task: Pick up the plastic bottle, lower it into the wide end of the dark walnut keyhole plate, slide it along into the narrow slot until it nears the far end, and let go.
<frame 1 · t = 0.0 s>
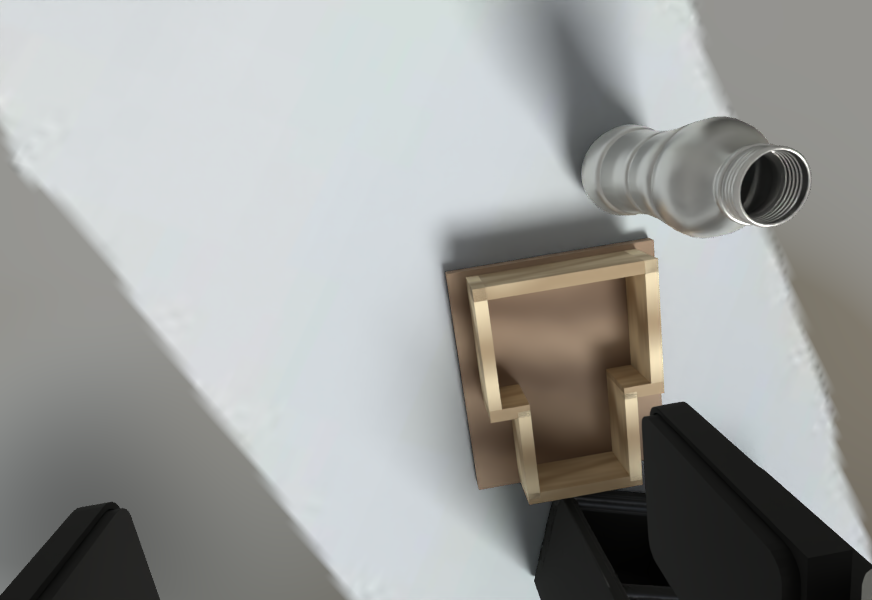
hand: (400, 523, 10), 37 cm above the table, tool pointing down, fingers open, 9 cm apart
keyhole plate: (558, 366, 50), on the table
black drawer cabinet: (657, 540, 56), on the table
plastic bottle: (612, 168, 46), on the table
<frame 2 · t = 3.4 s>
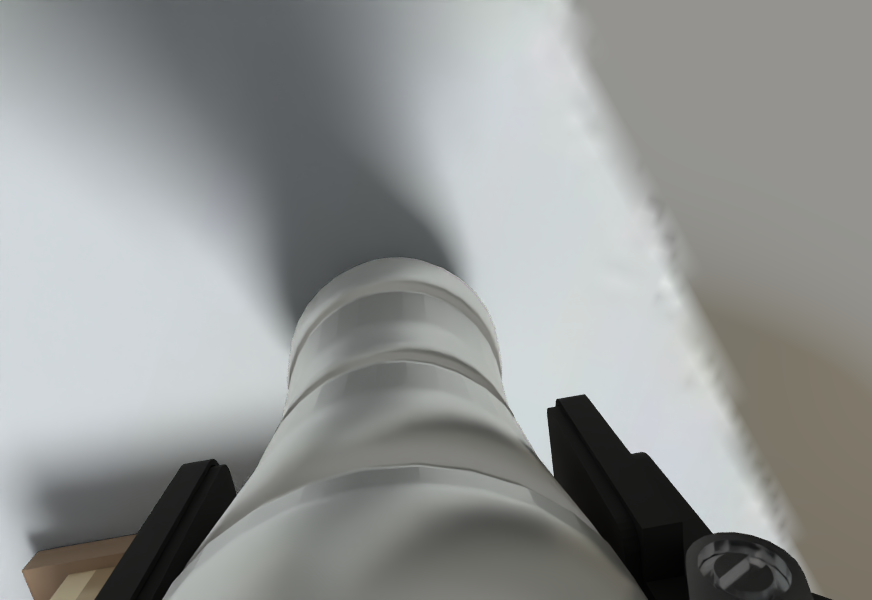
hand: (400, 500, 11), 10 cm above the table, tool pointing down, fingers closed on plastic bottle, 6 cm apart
plastic bottle: (395, 334, 20), on the table, touching gripper
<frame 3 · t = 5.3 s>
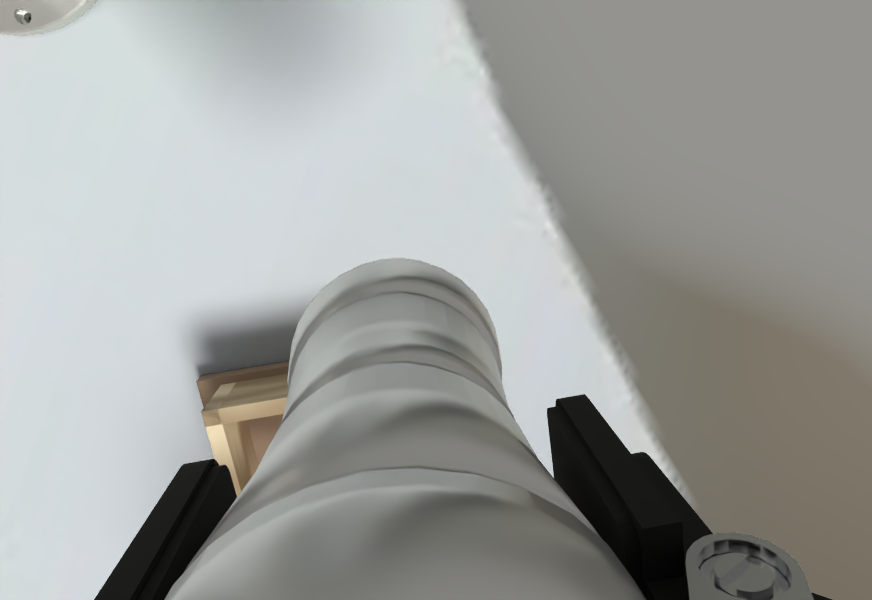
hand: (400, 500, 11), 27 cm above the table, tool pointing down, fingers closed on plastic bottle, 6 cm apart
keyhole plate: (355, 483, 41), on the table
plastic bottle: (395, 335, 20), point 17 cm above the table, touching gripper
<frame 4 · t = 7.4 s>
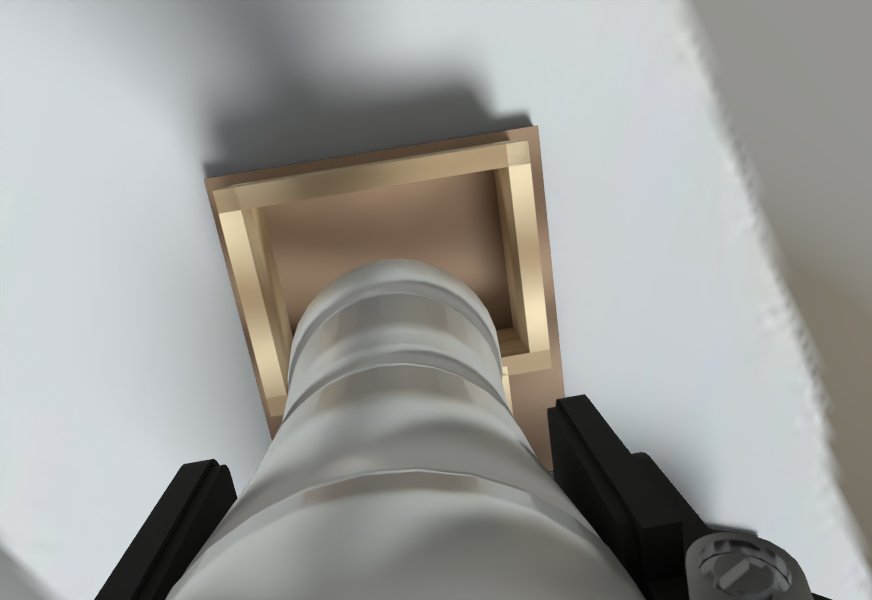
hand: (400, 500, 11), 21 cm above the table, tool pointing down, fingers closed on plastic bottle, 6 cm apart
keyhole plate: (404, 331, 33), on the table
plastic bottle: (395, 335, 20), point 12 cm above the table, touching gripper
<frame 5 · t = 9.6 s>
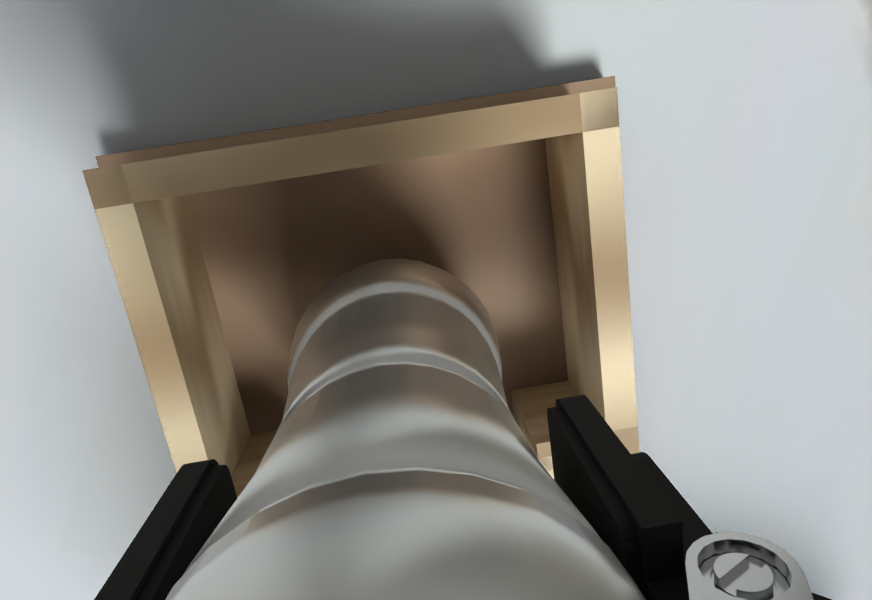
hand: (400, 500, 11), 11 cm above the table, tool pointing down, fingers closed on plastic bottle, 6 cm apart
keyhole plate: (407, 384, 22), on the table
plastic bottle: (395, 335, 20), point 1 cm above the table, touching gripper
when the fingers open (11 cm above the table, at t = 11.4 s): plastic bottle stays where it is, resting on keyhole plate.
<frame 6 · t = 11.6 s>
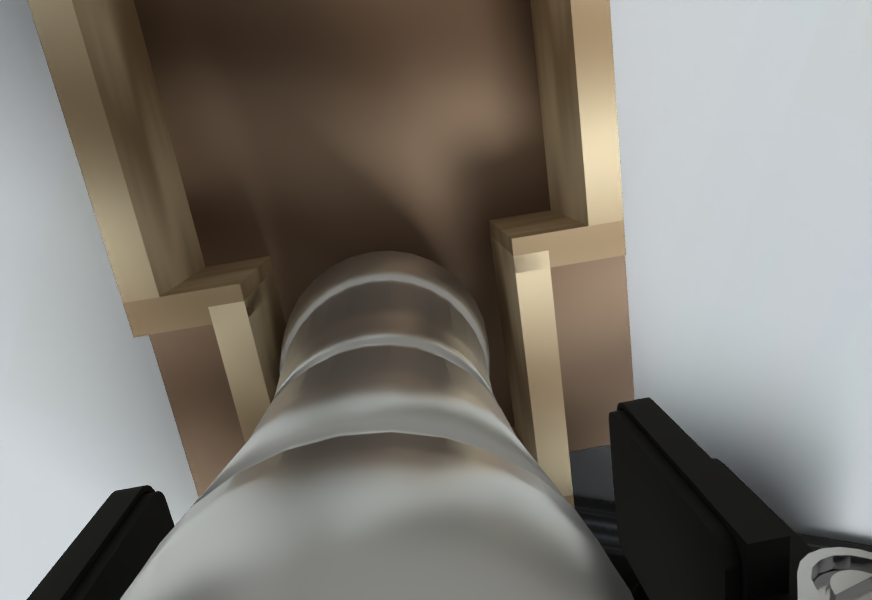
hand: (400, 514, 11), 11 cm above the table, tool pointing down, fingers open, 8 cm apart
keyhole plate: (377, 220, 21), on the table
plastic bottle: (387, 327, 21), point 1 cm above the table, touching keyhole plate
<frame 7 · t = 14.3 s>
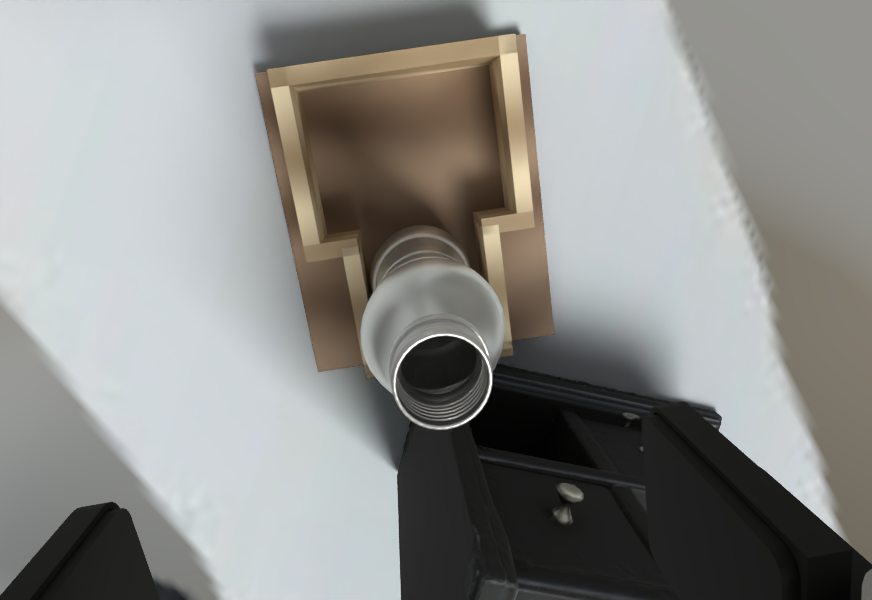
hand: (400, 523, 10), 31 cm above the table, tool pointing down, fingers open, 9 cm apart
keyhole plate: (415, 211, 39), on the table
black drawer cabinet: (556, 440, 45), on the table
plastic bottle: (419, 268, 39), point 1 cm above the table, touching keyhole plate
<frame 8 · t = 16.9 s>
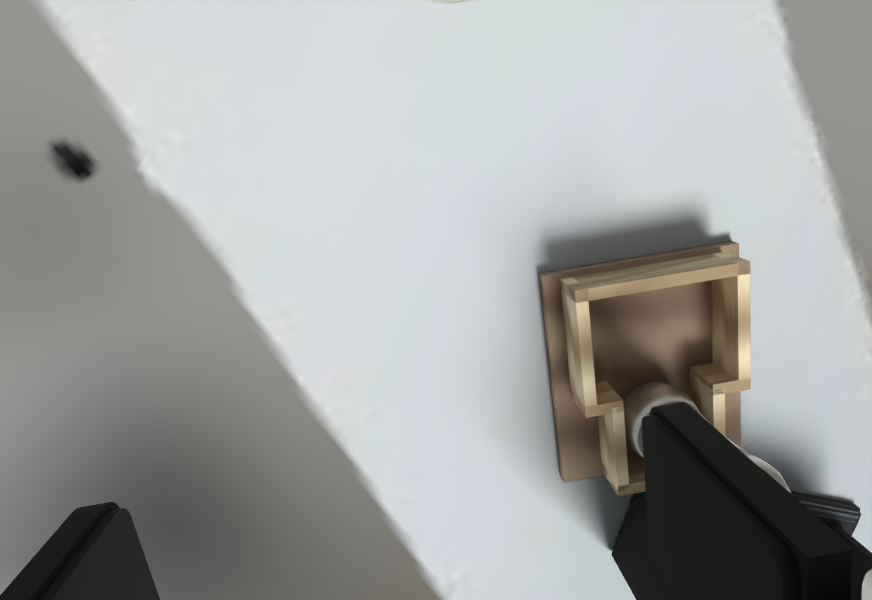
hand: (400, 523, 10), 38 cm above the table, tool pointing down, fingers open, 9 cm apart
keyhole plate: (642, 364, 52), on the table
black drawer cabinet: (731, 526, 58), on the table
plastic bottle: (645, 406, 52), point 1 cm above the table, touching keyhole plate
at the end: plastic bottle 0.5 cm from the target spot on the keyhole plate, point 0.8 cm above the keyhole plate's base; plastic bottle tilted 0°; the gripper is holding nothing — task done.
